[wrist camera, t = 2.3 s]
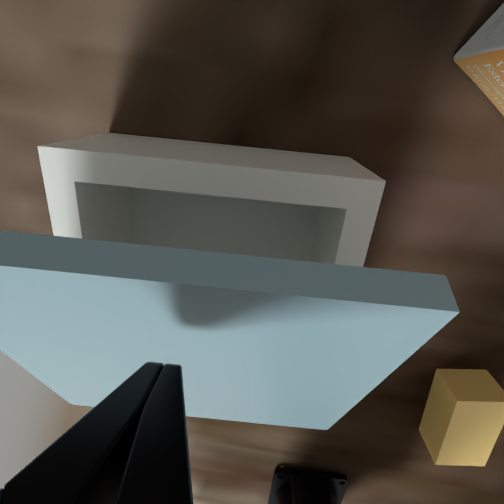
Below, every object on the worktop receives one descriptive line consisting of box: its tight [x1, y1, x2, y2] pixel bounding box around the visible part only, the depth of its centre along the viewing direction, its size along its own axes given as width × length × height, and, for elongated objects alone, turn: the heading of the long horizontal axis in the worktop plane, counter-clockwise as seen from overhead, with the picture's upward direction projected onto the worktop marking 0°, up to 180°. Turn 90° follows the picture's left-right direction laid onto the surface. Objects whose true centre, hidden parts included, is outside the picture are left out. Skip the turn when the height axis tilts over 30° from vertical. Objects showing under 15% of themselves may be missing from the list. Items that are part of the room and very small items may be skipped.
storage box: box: [37, 133, 386, 267], centre depth 17 cm, size 12×13×6 cm
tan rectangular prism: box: [419, 369, 504, 466], centre depth 23 cm, size 6×4×3 cm, turn 1°
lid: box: [0, 230, 460, 430], centre depth 12 cm, size 12×13×1 cm
